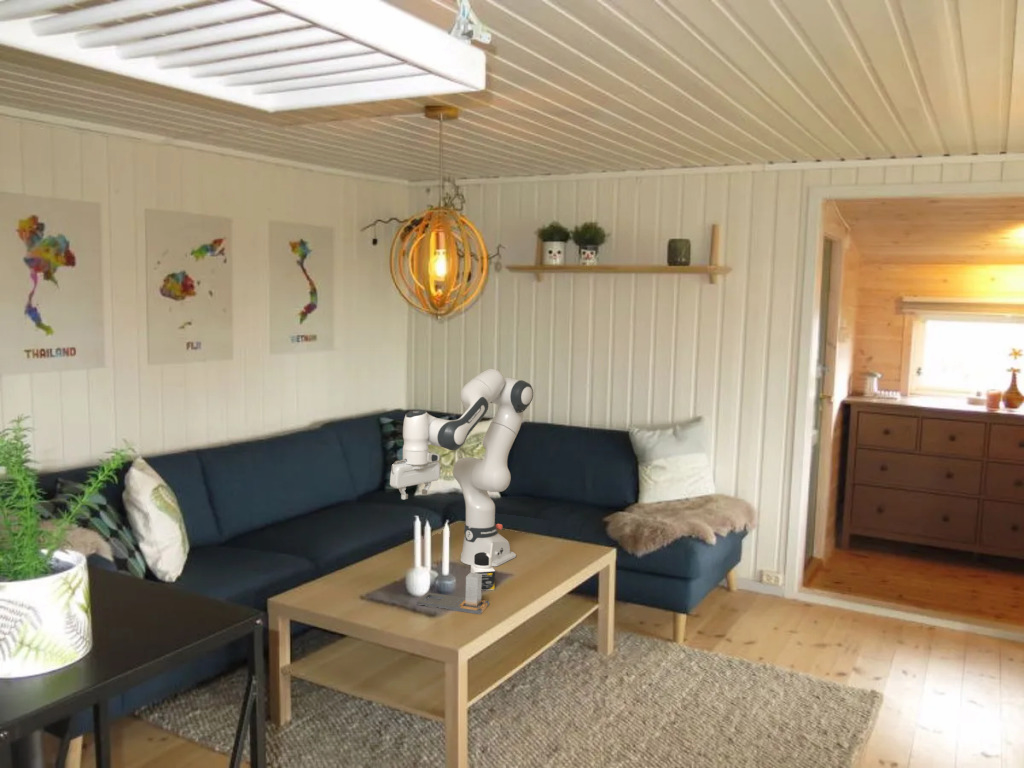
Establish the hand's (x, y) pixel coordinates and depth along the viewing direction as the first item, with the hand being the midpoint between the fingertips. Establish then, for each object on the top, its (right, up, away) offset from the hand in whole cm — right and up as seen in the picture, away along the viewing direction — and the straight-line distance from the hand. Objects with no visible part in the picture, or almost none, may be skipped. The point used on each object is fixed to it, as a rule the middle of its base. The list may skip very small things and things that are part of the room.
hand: (414, 496), depth 302 cm
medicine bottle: (+23, -32, +2) cm, 40 cm away
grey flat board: (+14, -34, -15) cm, 39 cm away
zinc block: (+21, -34, -17) cm, 43 cm away
